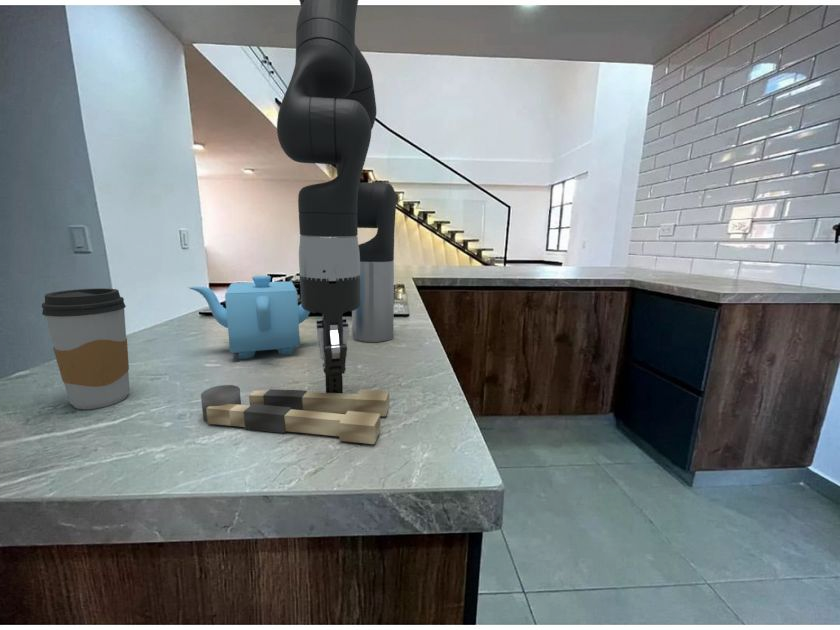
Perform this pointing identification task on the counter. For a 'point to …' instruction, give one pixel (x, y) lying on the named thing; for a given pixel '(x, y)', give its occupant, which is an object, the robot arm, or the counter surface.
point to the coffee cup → (89, 345)
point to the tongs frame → (286, 417)
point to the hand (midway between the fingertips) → (334, 396)
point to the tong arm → (324, 400)
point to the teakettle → (259, 315)
